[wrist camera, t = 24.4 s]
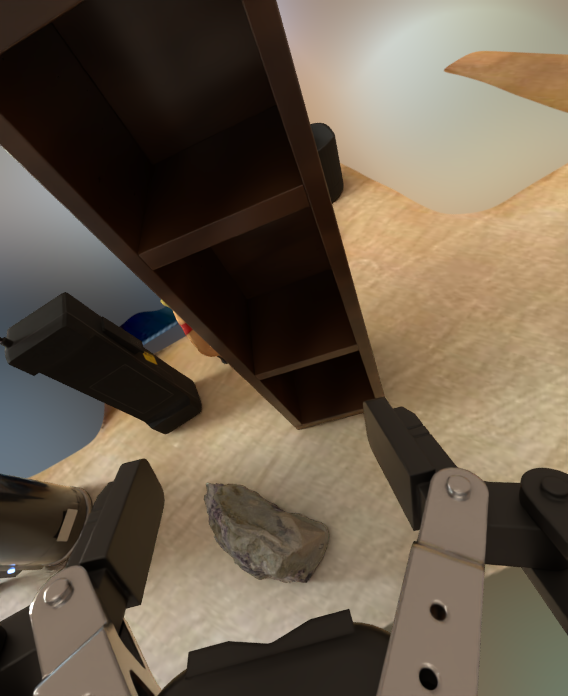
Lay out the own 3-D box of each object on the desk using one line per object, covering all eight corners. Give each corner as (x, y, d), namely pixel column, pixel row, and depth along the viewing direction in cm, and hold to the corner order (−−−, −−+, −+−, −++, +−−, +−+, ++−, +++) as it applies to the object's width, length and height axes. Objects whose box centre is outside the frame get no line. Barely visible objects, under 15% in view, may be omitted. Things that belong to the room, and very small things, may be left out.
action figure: (248, 366, 49) (189, 304, 37) (228, 380, 49) (162, 323, 37) (226, 325, 54) (168, 260, 42) (207, 338, 54) (145, 276, 42)
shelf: (297, 430, 41) (-95, 56, 10) (287, 364, 46) (6, -14, 16) (387, 406, 39) (229, -172, 8) (365, 340, 44) (219, -162, 13)
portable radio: (199, 375, 51) (51, 259, 31) (210, 406, 47) (51, 299, 27) (155, 402, 51) (-19, 306, 31) (163, 436, 48) (-28, 351, 28)
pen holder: (354, 177, 62) (343, 121, 53) (331, 213, 59) (315, 160, 51) (311, 175, 66) (295, 124, 58) (288, 209, 64) (267, 159, 56)
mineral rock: (210, 500, 41) (157, 486, 33) (282, 447, 41) (247, 420, 33) (257, 620, 33) (201, 642, 25) (345, 554, 33) (319, 555, 25)
